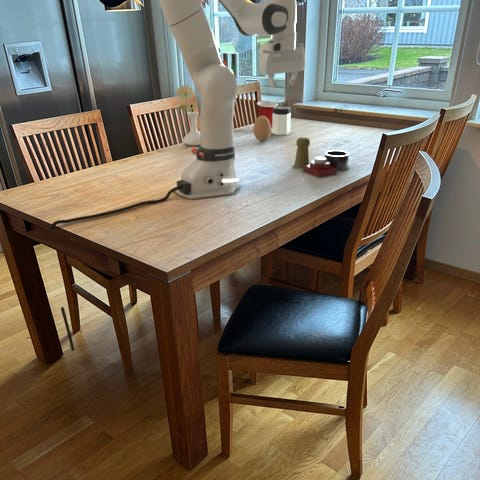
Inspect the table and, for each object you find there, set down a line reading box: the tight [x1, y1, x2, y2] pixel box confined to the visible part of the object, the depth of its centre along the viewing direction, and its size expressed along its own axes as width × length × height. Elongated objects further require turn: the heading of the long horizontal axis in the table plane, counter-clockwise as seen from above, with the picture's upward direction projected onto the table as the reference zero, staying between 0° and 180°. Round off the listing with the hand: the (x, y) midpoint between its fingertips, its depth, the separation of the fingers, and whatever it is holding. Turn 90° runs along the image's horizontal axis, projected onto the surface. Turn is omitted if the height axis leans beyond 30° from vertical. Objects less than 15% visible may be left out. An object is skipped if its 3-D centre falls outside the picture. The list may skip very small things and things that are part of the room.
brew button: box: [313, 156, 326, 164], centre depth 182 cm, size 4×4×2 cm
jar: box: [271, 105, 292, 136], centre depth 238 cm, size 9×8×12 cm
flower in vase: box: [175, 84, 201, 147], centre depth 217 cm, size 13×11×25 cm
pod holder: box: [324, 149, 350, 172], centre depth 188 cm, size 9×9×6 cm
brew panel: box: [302, 159, 337, 178], centre depth 183 cm, size 8×10×4 cm
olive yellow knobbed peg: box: [293, 136, 311, 170], centre depth 188 cm, size 6×6×11 cm
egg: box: [253, 115, 272, 142], centre depth 225 cm, size 8×8×11 cm
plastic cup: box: [256, 100, 279, 129], centre depth 251 cm, size 11×11×12 cm
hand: (282, 86), depth 184 cm, fingers open, 8 cm apart
